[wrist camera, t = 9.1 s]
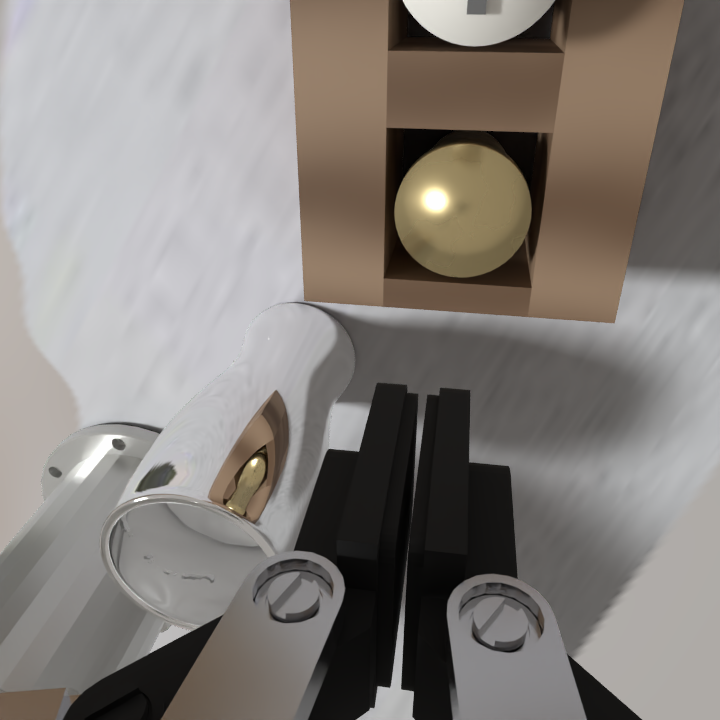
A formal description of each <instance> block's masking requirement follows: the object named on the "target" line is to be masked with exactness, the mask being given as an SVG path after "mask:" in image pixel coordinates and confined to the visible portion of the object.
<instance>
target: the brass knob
mask: <svg viewBox="0 0 720 720" xmlns="http://www.w3.org/2000/svg"><path fill="white" fill-rule="evenodd" d="M531 211H532V208H531V198H530V193H529V188H528V184H527V182H526V179H525V177H524V175H523V173H522V171H521V169H520V168H519V167H518V165H517V164H516V162H515V161H514V160H513V159H512V158H511V157H510V156H508V155H507V154H506V152H505V150H504V148H503V147H502V145H501V144H500V143H499V142H498V141H497V140H496V139H495V138H494V137H493V136H491V135H490V134H488V133H486V132H483V131H478V130H457V131H454V132H451V133H449V134H447V135H446V136H444V137H443V138H441V139H440V140H439V141H438V142H437V143H436V144H435V145H434V147H433V148H432V149H430V150H429V151H427V152H426V153H424V154H423V155H422V156H421V157H419V158H418V159H417V160H416V161H415V162H414V163H413V165H412V166H411V167H410V169H409V170H408V171H407V173H406V175H405V177H404V179H403V181H402V183H401V185H400V188H399V191H398V193H397V197H396V201H395V210H394V213H395V224H396V229H397V232H398V235H399V238H400V240H401V242H402V244H403V245H404V247H405V249H406V250H407V251H408V253H409V254H410V255H411V256H412V257H413V258H414V259H415V260H416V261H417V262H418V263H420V264H421V265H422V266H424V267H425V268H427V269H429V270H431V271H433V272H436V273H438V274H441V275H445V276H450V277H473V276H478V275H482V274H485V273H487V272H490V271H492V270H494V269H496V268H498V267H499V266H501V265H502V264H504V263H505V262H506V261H507V260H509V259H510V258H511V257H512V256H513V255H514V254H515V252H516V251H517V250H518V249H519V247H520V246H521V244H522V243H523V241H524V239H525V237H526V235H527V232H528V229H529V226H530V221H531Z"/></svg>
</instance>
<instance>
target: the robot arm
mask: <svg viewBox="0 0 720 720" xmlns="http://www.w3.org/2000/svg"><path fill="white" fill-rule="evenodd" d="M417 411H418V394H413V393H407V385H400V384H388V383H377V385H376V389H375V393H374V397H373V400H372V404H371V408H370V412H369V416H368V420H367V424H366V428H365V431H364V435H363V439H362V443H361V447H360V451H359V452H356V451H345V450H335V449H328V450H327V452H326V454H325V457H324V460H323V463H322V466H321V469H320V472H319V475H318V478H317V481H316V484H315V487H314V490H313V493H312V496H311V499H310V502H309V505H308V508H307V511H306V514H305V517H304V520H303V523H302V526H301V529H300V532H299V535H298V539H297V542H296V545H295V548H294V551H291V552H282V553H279V554H277V555H274V556H271V557H268V558H267V559H265V560H264V561H262V562H261V563H259V564H258V565H256V566H255V567H254V568H253V569H252V571H251V572H250V573H249V574H248V575H247V577H246V578H245V580H244V581H243V583H242V585H241V586H240V588H239V590H238V591H237V593H236V595H235V596H234V598H233V600H232V601H231V603H230V605H229V606H228V608H227V610H226V611H225V613H224V614H223V615H221V616H220V617H218V618H216V619H214V620H212V621H210V622H208V623H206V624H204V625H203V626H201V627H199V628H197V629H195V630H193V631H191V632H190V633H188V634H186V635H184V636H182V637H180V638H178V639H176V640H174V641H173V642H171V643H169V644H167V645H165V646H163V647H161V648H159V649H158V650H156V651H154V652H152V653H150V654H149V652H150V651H151V649H152V647H153V645H154V643H155V640H156V639H157V637H158V635H159V633H160V632H164V631H166V630H168V629H169V627H170V626H171V624H169V623H166V622H164V621H162V620H160V619H158V618H156V617H154V616H153V615H151V614H149V613H147V612H146V611H144V610H143V609H141V608H140V607H139V606H137V605H136V604H135V603H133V602H132V601H131V600H130V599H129V598H128V597H127V596H126V595H125V594H124V593H123V592H122V591H121V590H120V589H119V588H118V587H117V586H116V584H115V583H114V582H113V580H112V579H111V577H110V576H109V574H108V572H107V570H106V568H105V566H104V564H103V561H102V558H101V554H100V547H99V538H100V532H101V529H102V526H103V524H104V522H105V520H106V518H107V517H108V516H109V514H110V513H111V512H112V511H113V509H114V507H115V506H116V504H117V502H118V500H119V499H120V497H121V495H122V493H123V491H124V489H125V488H126V486H127V484H128V482H129V481H130V479H131V477H132V476H133V474H134V472H135V470H136V469H137V467H138V465H139V464H140V462H141V461H142V459H143V458H144V456H145V455H146V453H147V452H148V450H149V448H150V447H151V445H152V444H153V442H154V441H155V440H156V438H157V437H158V436H159V434H158V433H156V432H153V431H149V430H146V429H143V428H139V427H134V426H127V425H121V424H107V425H97V426H92V427H87V428H84V429H82V430H80V431H77V432H75V433H73V434H71V435H70V436H69V437H67V438H66V439H65V440H64V441H63V442H61V443H60V444H59V445H58V447H57V448H56V449H55V450H54V451H53V452H52V454H51V455H50V456H49V457H48V459H47V461H46V463H45V465H44V468H43V473H42V479H41V484H42V495H43V498H44V503H43V504H42V505H41V506H40V507H39V508H38V510H37V511H36V512H35V513H34V515H33V516H32V517H31V518H30V519H29V520H28V521H27V523H26V524H25V525H24V526H23V527H22V528H21V530H20V531H19V532H18V533H17V534H16V536H15V537H14V538H13V539H12V540H11V541H10V543H9V544H8V545H7V546H6V547H5V548H4V550H3V551H2V552H1V553H0V720H356V719H357V718H359V717H360V716H362V715H363V714H365V713H366V712H367V711H369V709H370V708H374V707H375V700H376V693H377V686H382V687H389V688H390V686H391V680H392V672H393V664H394V656H395V648H396V640H397V632H398V624H399V616H400V608H401V600H402V592H403V584H404V576H405V568H406V561H407V553H408V565H407V584H406V604H405V624H404V644H403V664H402V683H401V689H402V690H409V691H414V701H413V716H412V717H413V718H414V719H415V720H642V719H641V718H639V717H638V716H637V715H636V714H635V713H634V712H633V711H631V710H630V709H629V708H628V707H627V706H626V705H625V704H623V703H622V702H621V701H620V700H619V699H618V698H617V697H616V696H614V695H613V694H612V693H611V692H610V691H609V690H607V689H606V688H605V687H604V686H603V685H602V684H601V683H600V682H598V681H597V680H596V679H595V678H594V677H593V676H592V675H590V674H589V673H588V672H587V671H586V670H584V669H583V668H582V667H581V666H580V665H579V664H578V663H577V662H576V661H574V660H573V659H572V658H571V657H570V656H569V655H568V654H567V653H566V650H565V647H564V643H563V640H562V637H561V633H560V630H559V627H558V624H557V620H556V617H555V615H554V613H553V611H552V609H551V606H550V604H549V602H548V601H547V600H546V599H545V598H544V597H543V596H542V595H541V594H540V593H539V592H538V591H537V590H536V589H534V588H533V587H531V586H530V585H528V584H527V583H525V582H524V581H521V580H518V578H517V563H516V548H515V534H514V519H513V504H512V489H511V474H510V468H509V466H501V465H490V464H480V463H469V429H470V390H461V389H449V388H440V394H439V396H437V395H427V403H426V411H425V419H424V427H423V435H422V443H421V451H420V459H419V467H418V475H417V483H416V491H415V499H414V507H413V515H412V506H413V487H414V468H415V449H416V430H417ZM411 519H412V523H411ZM410 529H411V531H410ZM409 537H410V540H409ZM408 545H409V551H408Z"/></svg>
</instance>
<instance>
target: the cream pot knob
mask: <svg viewBox="0 0 720 720" xmlns="http://www.w3.org/2000/svg"><path fill="white" fill-rule="evenodd" d="M554 1H555V0H403V2H404V4H405V6H406V7H407V9H408V10H409V12H410V13H411V14H412V16H413V17H414V18H415V19H416V20H417V21H418V22H419V23H420V24H421V25H422V26H423V27H424V28H425V29H427V30H428V31H429V32H430V33H432V34H434V35H435V36H437V37H439V38H441V39H443V40H446V41H448V42H451V43H454V44H459V45H463V46H486V45H491V44H496V43H500V42H502V41H505V40H508V39H510V38H512V37H514V36H516V35H518V34H520V33H522V32H523V31H525V30H526V29H528V28H529V27H530V26H532V25H533V24H534V23H535V22H536V21H537V20H539V19H540V18H541V17H542V16H543V15H544V13H545V12H546V11H547V10H548V9H549V8H550V7H551V5H552V4H553V2H554Z"/></svg>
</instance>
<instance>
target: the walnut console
mask: <svg viewBox="0 0 720 720" xmlns="http://www.w3.org/2000/svg"><path fill="white" fill-rule="evenodd" d="M683 5H684V0H555V2H554V9H553V17H552V25H551V33H550V39H539V38H510V39H508V40H505V41H502V42H500V43H496V44H491V45H486V46H463V45H459V44H454V43H451V42H448V41H446V40H443V39H441V38H439V37H407V26H408V9H407V7H406V6H405V4H404V2H403V0H290V11H291V32H292V53H293V74H294V95H295V115H296V136H297V157H298V178H299V199H300V220H301V240H302V261H303V282H304V301H312V302H326V303H340V304H354V305H368V306H382V307H396V308H410V309H424V310H438V311H452V312H466V313H480V314H494V315H508V316H522V317H536V318H550V319H564V320H578V321H591V322H605V323H615V319H616V314H617V310H618V305H619V300H620V296H621V291H622V287H623V282H624V277H625V273H626V268H627V263H628V259H629V254H630V250H631V245H632V240H633V236H634V231H635V226H636V222H637V217H638V213H639V208H640V203H641V199H642V194H643V189H644V185H645V180H646V176H647V171H648V166H649V162H650V157H651V153H652V148H653V143H654V139H655V134H656V129H657V125H658V120H659V116H660V111H661V106H662V102H663V97H664V92H665V88H666V83H667V79H668V74H669V69H670V65H671V60H672V55H673V51H674V46H675V42H676V37H677V32H678V28H679V23H680V18H681V14H682V9H683ZM404 128H415V129H447V130H478V131H510V132H538V133H537V141H536V149H535V156H534V164H533V172H532V179H531V187H530V198H531V208H532V211H531V221H530V226H529V229H528V232H527V235H526V237H525V239H524V241H523V243H522V244H521V246H520V247H519V249H518V250H517V251H516V252H515V254H514V255H513V256H512V257H511V258H510V259H509V260H507V261H506V262H505V263H504V264H502V265H501V266H499V267H498V268H496V269H494V270H492V271H490V272H487V273H485V274H482V275H478V276H473V277H450V276H445V275H441V274H438V273H436V272H433V271H431V270H429V269H427V268H425V267H424V266H422V265H421V264H420V263H418V262H417V261H416V260H415V259H414V258H413V257H412V256H411V255H410V254H409V253H408V251H407V250H406V249H405V247H404V245H403V244H402V242H401V240H400V238H399V235H398V232H397V229H396V224H395V213H394V210H395V201H396V197H397V193H398V191H399V188H400V185H401V183H402V181H403V154H404Z"/></svg>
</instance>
